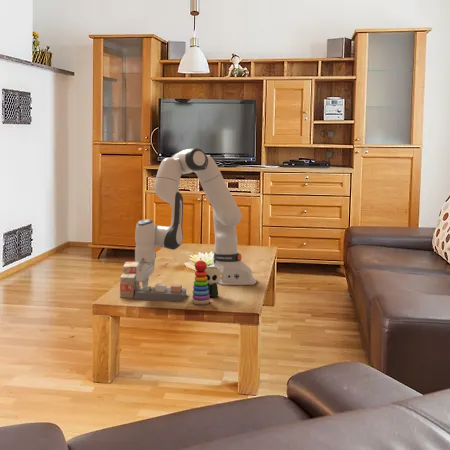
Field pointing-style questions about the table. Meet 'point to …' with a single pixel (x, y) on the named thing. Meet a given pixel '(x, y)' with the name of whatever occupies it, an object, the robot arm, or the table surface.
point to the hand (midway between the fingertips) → (145, 287)
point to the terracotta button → (176, 288)
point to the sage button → (145, 288)
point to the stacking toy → (200, 285)
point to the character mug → (213, 279)
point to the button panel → (160, 295)
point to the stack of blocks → (129, 280)
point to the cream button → (160, 288)
